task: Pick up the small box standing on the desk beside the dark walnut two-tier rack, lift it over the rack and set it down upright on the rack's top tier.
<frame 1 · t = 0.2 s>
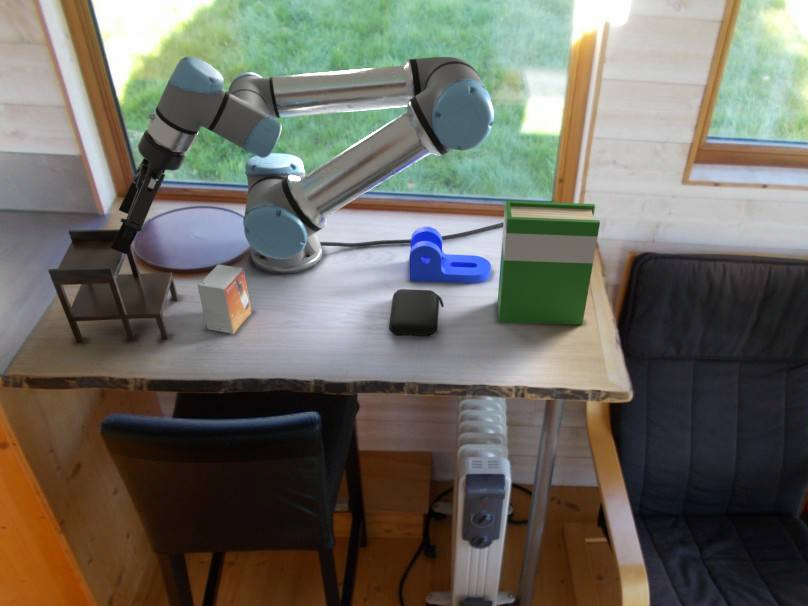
hand: (122, 230, 141), 15 cm above the table, tool tilted 35°, fingers open, 13 cm apart
hardback book: (539, 313, 158), on the table
bracket: (450, 272, 167), on the table
rack: (129, 319, 145), on the table
small box: (230, 321, 147), on the table
carrying case: (417, 319, 153), on the table
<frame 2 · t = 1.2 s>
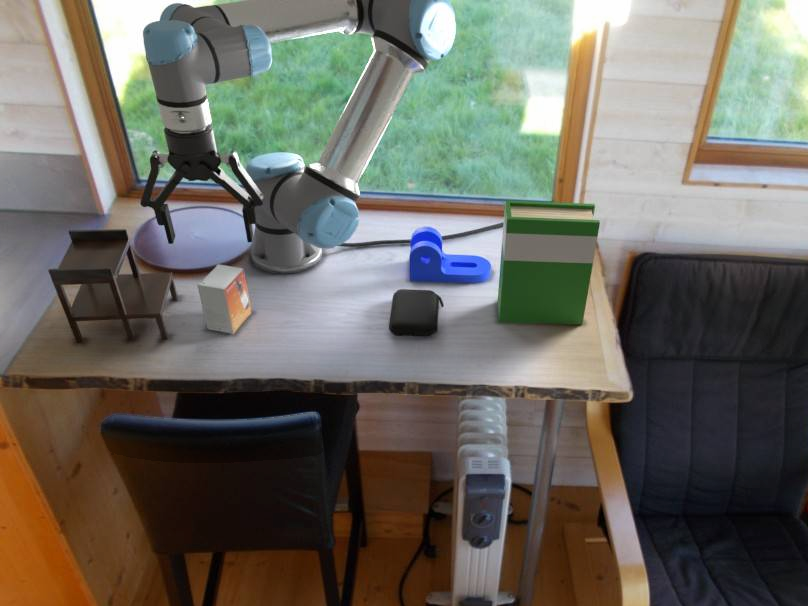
hand: (211, 239, 135), 18 cm above the table, tool pointing down, fingers open, 13 cm apart
nothing on the table moved.
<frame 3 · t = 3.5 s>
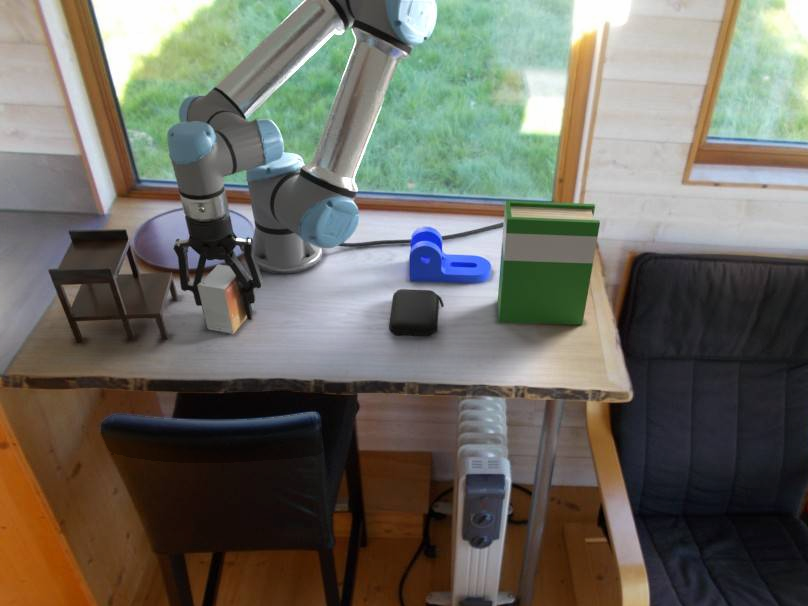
hand: (229, 316, 147), 1 cm above the table, tool pointing down, fingers closed on small box, 7 cm apart
small box: (230, 321, 147), on the table, touching gripper
everything else where it was.
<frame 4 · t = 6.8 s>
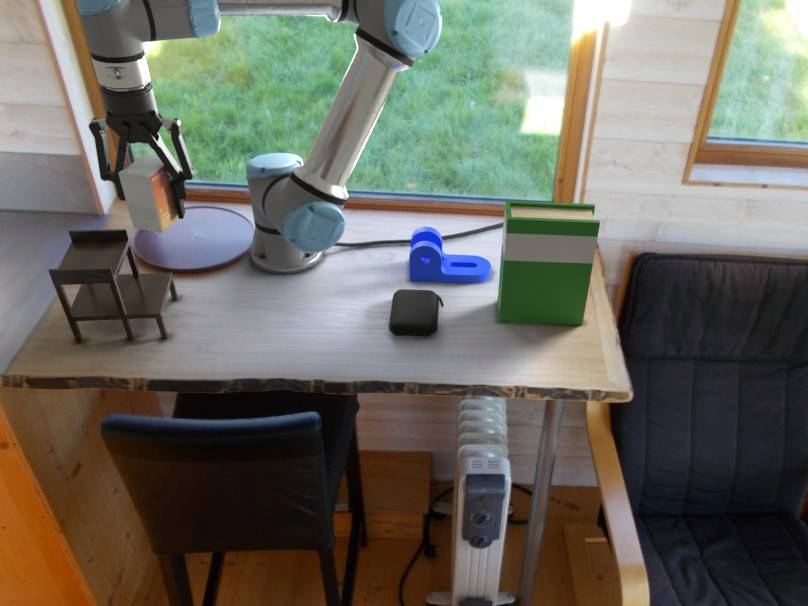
hand: (158, 215, 131), 23 cm above the table, tool pointing down, fingers closed on small box, 7 cm apart
small box: (160, 222, 132), point 22 cm above the table, touching gripper
everything else where it was.
when the fingers open (15 cm above the table, at t = 10.1 s): small box stays where it is, resting on rack.
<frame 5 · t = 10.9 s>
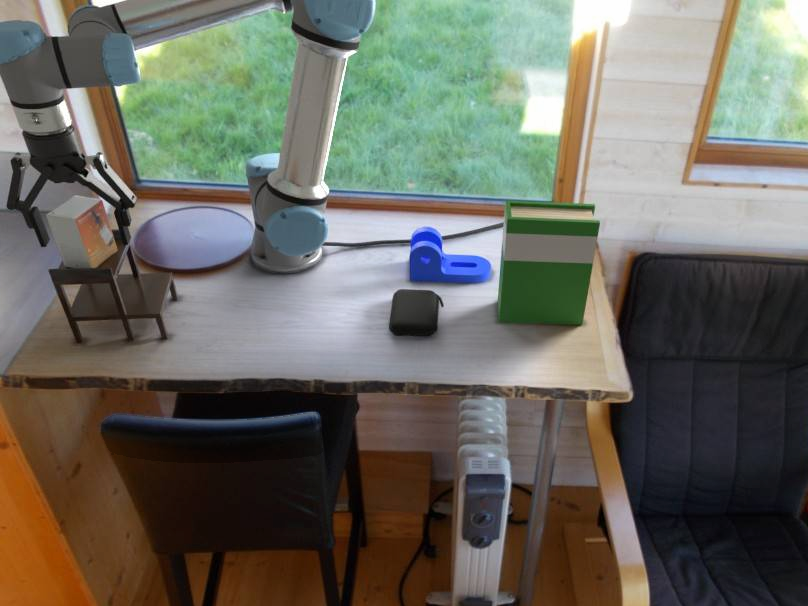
hand: (87, 242, 133), 17 cm above the table, tool pointing down, fingers open, 13 cm apart
small box: (92, 259, 136), point 14 cm above the table, touching rack
everything else where it was.
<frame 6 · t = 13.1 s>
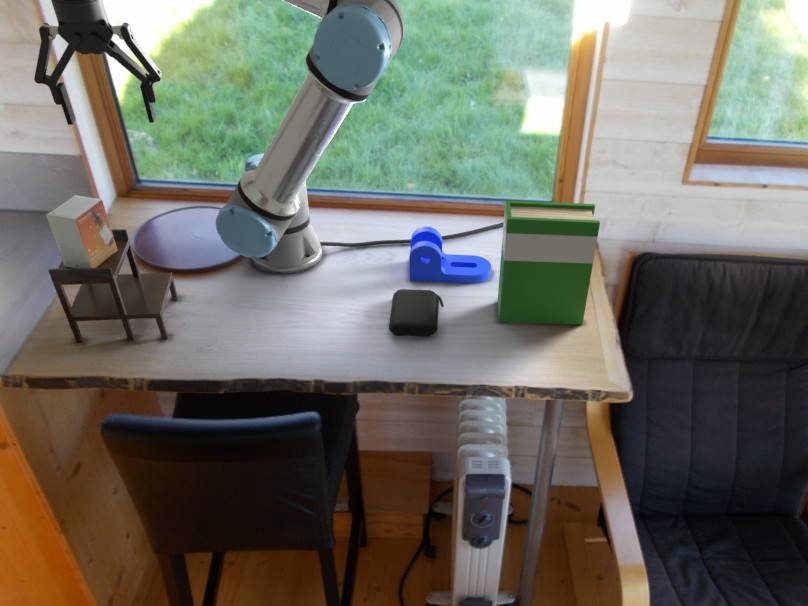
hand: (112, 121, 135), 33 cm above the table, tool pointing down, fingers open, 13 cm apart
nothing on the table moved.
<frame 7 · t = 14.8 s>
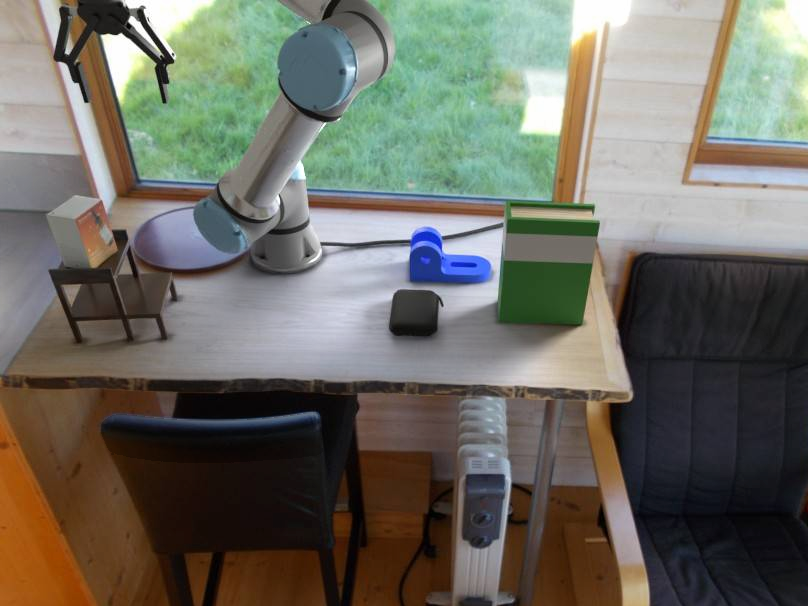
hand: (127, 100, 139), 35 cm above the table, tool pointing down, fingers open, 13 cm apart
nothing on the table moved.
at the end: small box inside the target area on the rack (0.1 cm from its centre), point 13.8 cm above the rack's base; small box tilted 0°; the gripper is holding nothing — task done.
